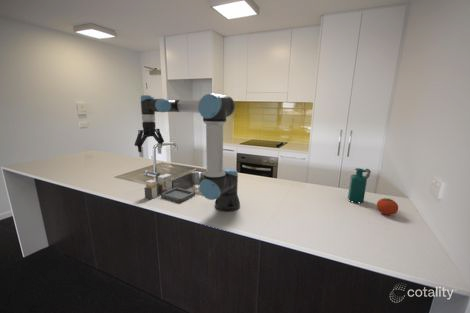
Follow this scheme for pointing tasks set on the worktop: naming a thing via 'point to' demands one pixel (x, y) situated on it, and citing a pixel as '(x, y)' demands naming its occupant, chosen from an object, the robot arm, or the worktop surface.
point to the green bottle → (358, 185)
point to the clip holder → (153, 189)
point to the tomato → (387, 206)
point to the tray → (178, 195)
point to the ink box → (165, 182)
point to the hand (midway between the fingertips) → (150, 155)
